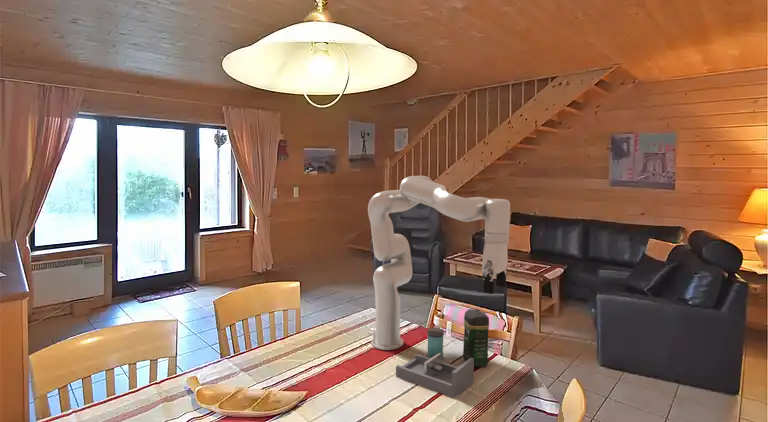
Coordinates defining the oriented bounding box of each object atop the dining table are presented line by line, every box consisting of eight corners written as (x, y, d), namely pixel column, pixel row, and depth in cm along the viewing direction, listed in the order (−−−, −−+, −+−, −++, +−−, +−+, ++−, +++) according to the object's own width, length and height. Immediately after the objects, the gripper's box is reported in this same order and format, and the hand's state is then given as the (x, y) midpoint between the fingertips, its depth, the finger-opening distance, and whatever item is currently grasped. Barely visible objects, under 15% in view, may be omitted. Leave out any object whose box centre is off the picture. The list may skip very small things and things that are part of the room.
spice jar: (423, 358, 160) (424, 331, 159) (432, 352, 165) (432, 326, 164) (438, 363, 156) (438, 335, 155) (446, 357, 161) (447, 330, 160)
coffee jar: (490, 367, 153) (492, 316, 151) (468, 368, 152) (470, 316, 150) (481, 355, 163) (482, 306, 161) (460, 356, 162) (461, 307, 160)
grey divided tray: (395, 376, 147) (396, 353, 146) (416, 363, 156) (416, 341, 155) (454, 398, 133) (455, 373, 132) (473, 382, 143) (473, 358, 142)
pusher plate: (424, 379, 142) (424, 362, 141) (438, 369, 149) (439, 352, 148) (434, 383, 139) (434, 366, 139) (448, 372, 147) (449, 356, 146)
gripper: (496, 233, 150) (494, 282, 152) (473, 239, 137) (472, 293, 139) (518, 235, 146) (516, 285, 148) (496, 242, 132) (494, 298, 134)
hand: (494, 289), depth 143 cm, fingers open, 9 cm apart
